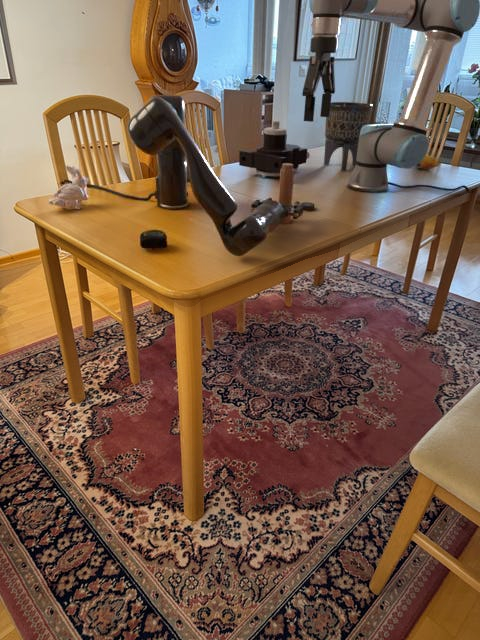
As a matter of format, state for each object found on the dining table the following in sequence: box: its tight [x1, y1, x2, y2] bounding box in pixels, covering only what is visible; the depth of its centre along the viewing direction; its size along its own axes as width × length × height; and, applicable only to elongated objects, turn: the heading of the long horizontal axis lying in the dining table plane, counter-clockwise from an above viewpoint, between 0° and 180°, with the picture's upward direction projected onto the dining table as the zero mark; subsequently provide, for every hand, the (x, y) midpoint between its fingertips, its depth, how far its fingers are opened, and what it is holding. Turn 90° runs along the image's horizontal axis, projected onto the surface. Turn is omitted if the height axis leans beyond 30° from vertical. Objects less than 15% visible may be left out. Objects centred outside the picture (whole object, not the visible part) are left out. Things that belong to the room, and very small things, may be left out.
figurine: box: [47, 165, 90, 210], centre depth 144 cm, size 8×15×13 cm, turn 145°
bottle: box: [277, 163, 295, 224], centre depth 135 cm, size 4×4×17 cm
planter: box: [323, 101, 374, 172], centre depth 204 cm, size 20×20×26 cm
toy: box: [415, 154, 440, 170], centre depth 211 cm, size 11×6×15 cm
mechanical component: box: [238, 120, 311, 178], centre depth 191 cm, size 22×21×30 cm
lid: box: [300, 201, 316, 212], centre depth 151 cm, size 5×5×2 cm
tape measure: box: [139, 229, 168, 250], centre depth 117 cm, size 7×7×4 cm
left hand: (284, 202), depth 135 cm, fingers open, 8 cm apart
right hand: (316, 119), depth 137 cm, fingers open, 13 cm apart
